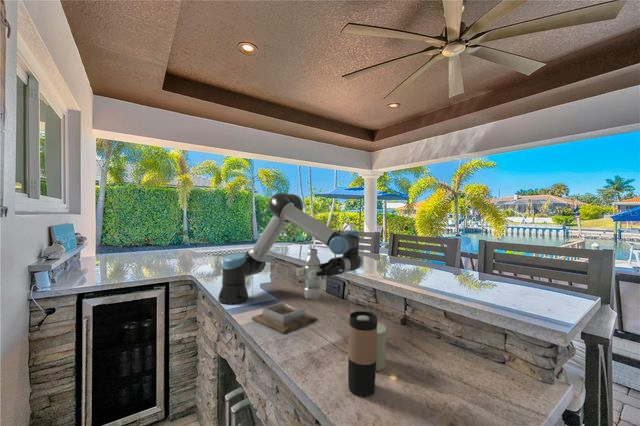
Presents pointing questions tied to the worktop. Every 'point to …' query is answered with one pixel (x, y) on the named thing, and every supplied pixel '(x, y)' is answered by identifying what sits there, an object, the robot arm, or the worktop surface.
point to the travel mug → (362, 353)
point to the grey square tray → (273, 314)
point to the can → (380, 347)
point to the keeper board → (287, 327)
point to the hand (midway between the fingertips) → (303, 273)
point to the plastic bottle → (312, 284)
